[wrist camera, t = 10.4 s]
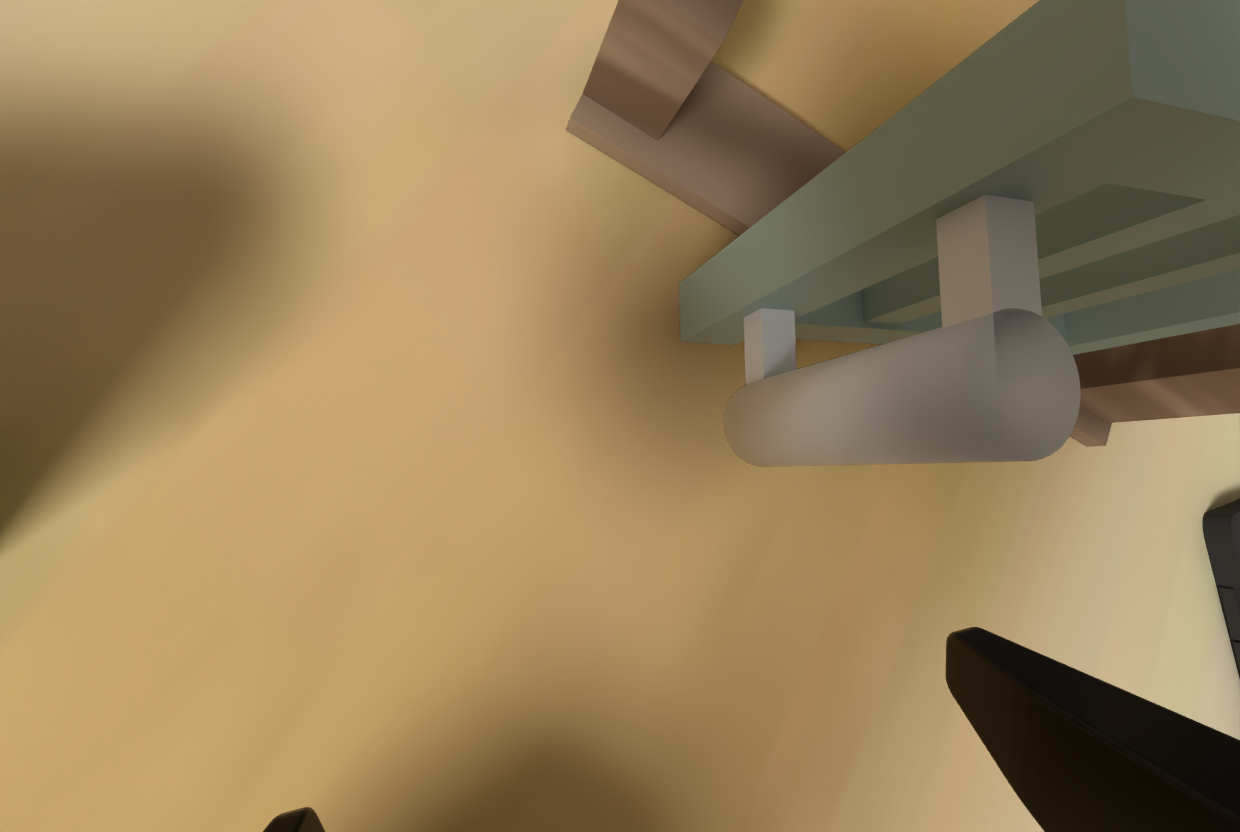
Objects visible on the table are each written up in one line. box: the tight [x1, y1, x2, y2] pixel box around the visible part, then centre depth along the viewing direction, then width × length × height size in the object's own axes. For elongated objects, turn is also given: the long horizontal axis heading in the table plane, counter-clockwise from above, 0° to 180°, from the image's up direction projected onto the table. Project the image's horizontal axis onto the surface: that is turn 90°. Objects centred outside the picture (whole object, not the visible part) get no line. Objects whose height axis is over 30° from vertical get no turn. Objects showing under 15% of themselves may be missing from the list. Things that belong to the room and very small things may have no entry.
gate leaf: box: [679, 0, 1240, 467], centre depth 16 cm, size 6×18×14 cm, turn 91°
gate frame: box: [566, 0, 1240, 446], centre depth 17 cm, size 5×26×17 cm, turn 66°
